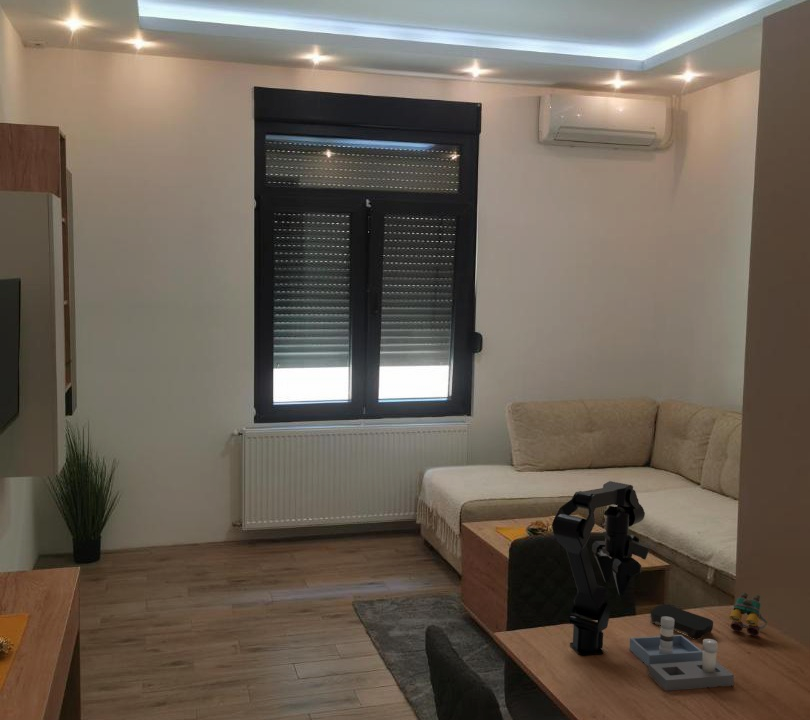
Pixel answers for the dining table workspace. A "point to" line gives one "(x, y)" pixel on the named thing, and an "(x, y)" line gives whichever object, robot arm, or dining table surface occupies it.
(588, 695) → the dining table surface
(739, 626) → the binoculars
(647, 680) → the dining table surface
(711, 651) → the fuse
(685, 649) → the parts tray
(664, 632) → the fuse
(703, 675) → the fuse holder
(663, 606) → the black sponge
